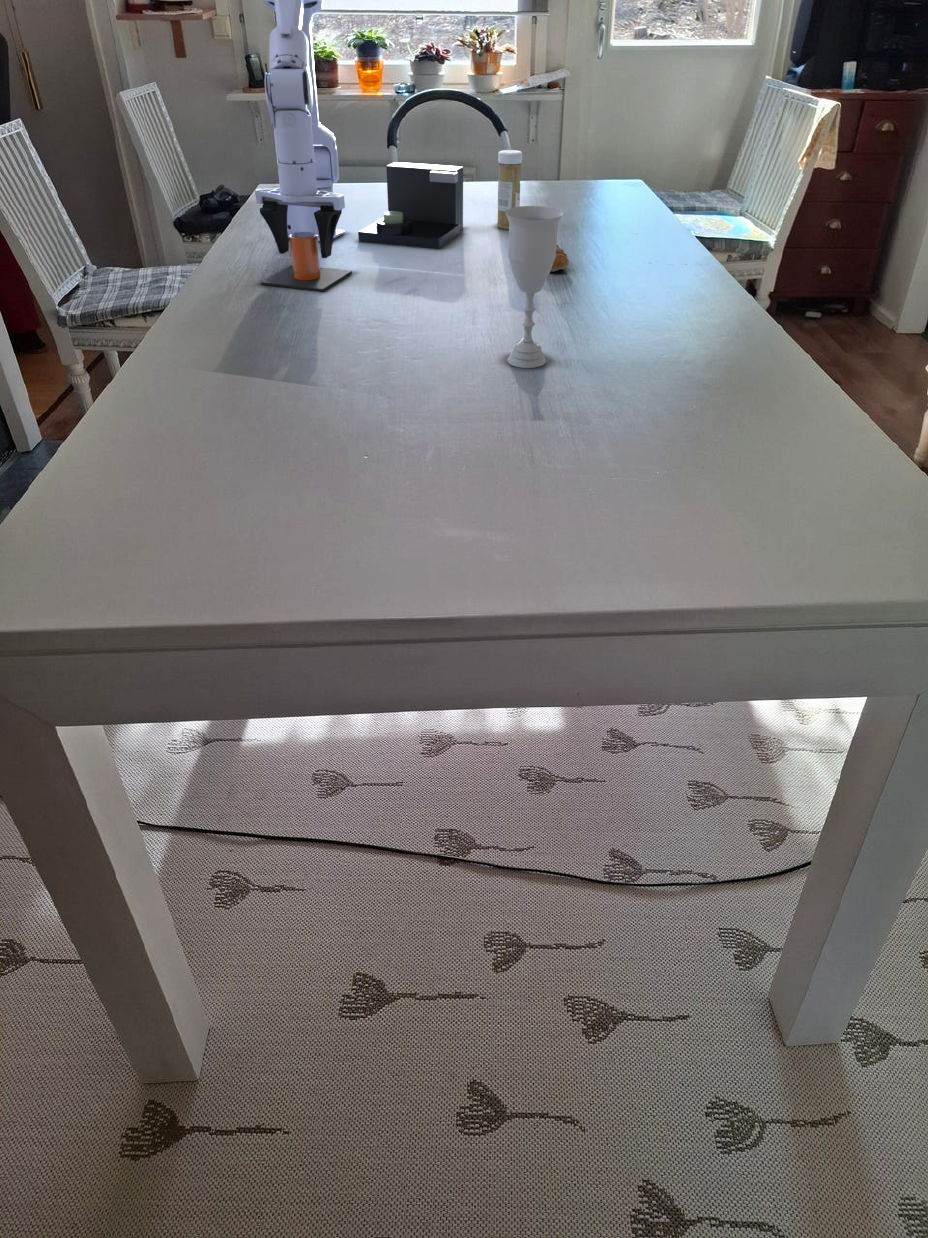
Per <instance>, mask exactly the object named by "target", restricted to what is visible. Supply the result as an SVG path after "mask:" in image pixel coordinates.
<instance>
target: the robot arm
mask: <svg viewBox="0 0 928 1238" xmlns="http://www.w3.org/2000/svg"><path fill="white" fill-rule="evenodd" d="M263 2H264V4H265V5H266V7H267V9H268V10H269V11H272V12H275V21H276V27H274V28H273V29H272V30H271V32H270V34H269V38H268V39H269V43H268V44H269V46H268V47H269V49H268V50H269V52H268V55H269V56H268V57H269V58H268V59H269V61H268V63H269V64H268V72H265V73H264V93H265V99H266V101H265V102H266V105H267V109H268V112H269V118H270V119H269V120H270V124H271V128H273V139H274V146H275V154H276V164H277V165H276V166H277V173H278V182H279V187H278V188H274V187H273V188H271V187H270V188H269V187H268V188H267V187H260V188H257V189H255V190H254V194H255V202H256V204H259V205H262V206H261V207H260V208H259V214H260V215H261V217H262V218H263V220H264V221H265V223H266V225H267V226H268V228H269V230H270V232H271V234H272V236H273V239H274V242H275V244H276V247H277V250H278V253H279V255H280V254H281V255H284V254H286V253H288V252H290V235H291V234H293V233H297V232H312V233H316V234H317V238H318V243H319V249H320V250H319V251H320V255H321V258H322V259H327V258H329V257H330V256H332V249H333V242H334V239H337V238H338V237H339V236H341V235H343V234H345V233H346V231H345V230H344V229H337V226H338V223H339V220H340V218H341V215H342V213H343V209H345V208H346V205H345V204H346V203H345V194H341V193H334V184H336V183H338V181H339V180H340V164H339V153H338V147H337V139H336V137H335V135H334V133H333V132H332V131H331V130H329V129H328V128H327V127H326V126H324V125H323V124H321V122H320V116H319V115H320V114H319V105H318V94H317V93H318V92H317V82H316V80H317V79H316V71H315V58H314V47H313V35H312V23H313V19H314V14H317V13H319V12H320V11H322V10H324V4H325V0H263Z"/></svg>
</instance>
